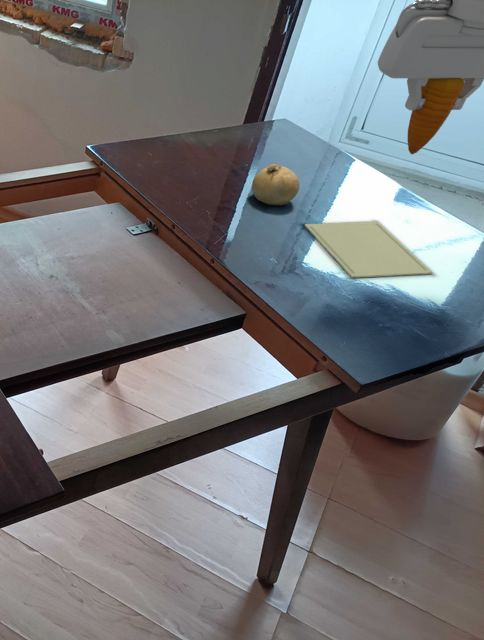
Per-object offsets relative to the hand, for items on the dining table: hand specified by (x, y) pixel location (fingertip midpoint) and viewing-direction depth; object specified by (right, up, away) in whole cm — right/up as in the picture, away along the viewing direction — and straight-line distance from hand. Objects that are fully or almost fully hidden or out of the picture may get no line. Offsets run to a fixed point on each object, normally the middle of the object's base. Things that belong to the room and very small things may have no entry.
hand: (432, 108), depth 95 cm
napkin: (0, -17, +19) cm, 25 cm away
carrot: (0, -5, +4) cm, 7 cm away
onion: (-11, -6, +31) cm, 33 cm away
